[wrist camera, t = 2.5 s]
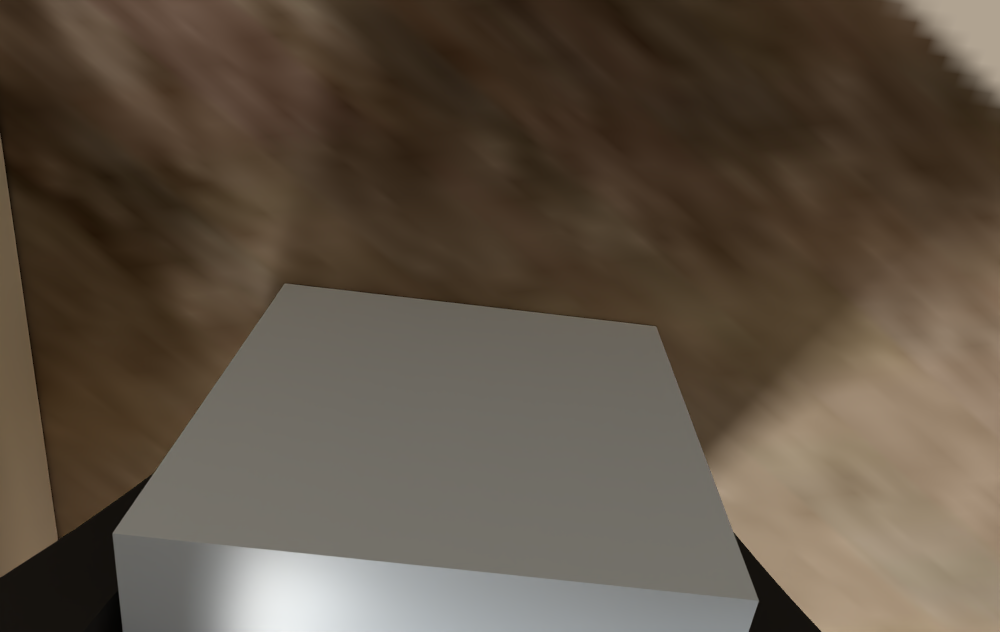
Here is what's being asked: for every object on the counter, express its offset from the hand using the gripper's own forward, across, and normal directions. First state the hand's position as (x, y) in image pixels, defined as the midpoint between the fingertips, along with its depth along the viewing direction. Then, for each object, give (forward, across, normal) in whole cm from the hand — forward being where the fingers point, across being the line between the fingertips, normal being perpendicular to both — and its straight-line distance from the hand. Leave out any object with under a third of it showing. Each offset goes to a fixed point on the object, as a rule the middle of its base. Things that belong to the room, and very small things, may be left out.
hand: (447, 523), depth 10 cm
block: (+1, 0, 0) cm, 1 cm away
